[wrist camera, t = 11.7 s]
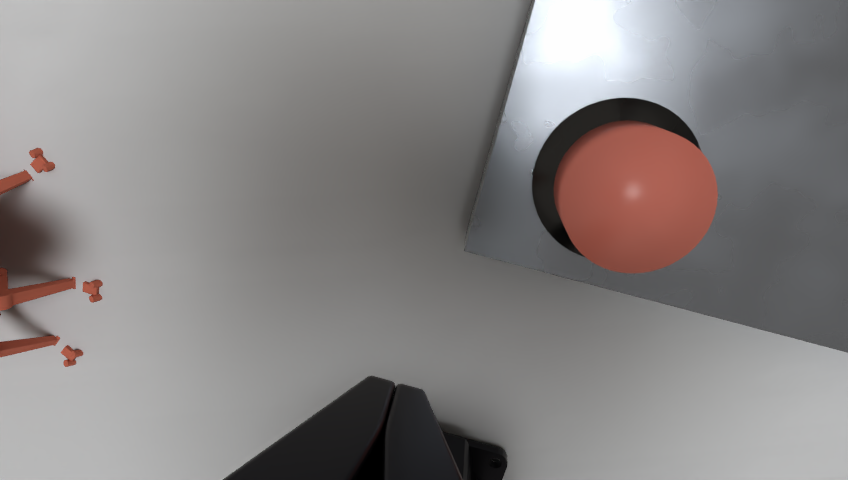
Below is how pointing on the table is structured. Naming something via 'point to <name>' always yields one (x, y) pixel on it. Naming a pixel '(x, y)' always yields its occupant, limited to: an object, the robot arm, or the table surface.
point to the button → (634, 196)
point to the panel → (704, 127)
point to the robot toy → (7, 297)
